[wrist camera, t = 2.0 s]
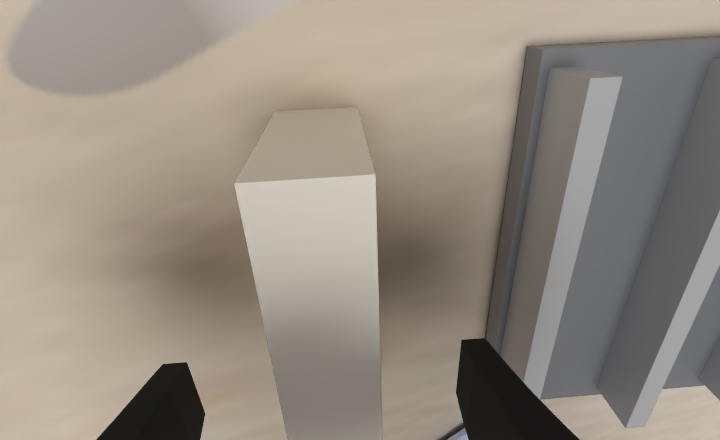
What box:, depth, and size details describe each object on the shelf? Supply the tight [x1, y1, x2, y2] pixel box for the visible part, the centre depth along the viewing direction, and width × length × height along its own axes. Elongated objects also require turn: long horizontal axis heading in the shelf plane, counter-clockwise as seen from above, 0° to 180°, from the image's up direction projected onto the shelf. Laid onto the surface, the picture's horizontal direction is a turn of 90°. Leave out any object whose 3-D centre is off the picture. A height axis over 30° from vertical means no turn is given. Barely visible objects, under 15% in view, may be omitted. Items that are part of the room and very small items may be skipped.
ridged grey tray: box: [485, 36, 720, 428], centre depth 14 cm, size 15×11×3 cm
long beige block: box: [234, 107, 383, 440], centre depth 13 cm, size 12×3×6 cm, turn 2°
